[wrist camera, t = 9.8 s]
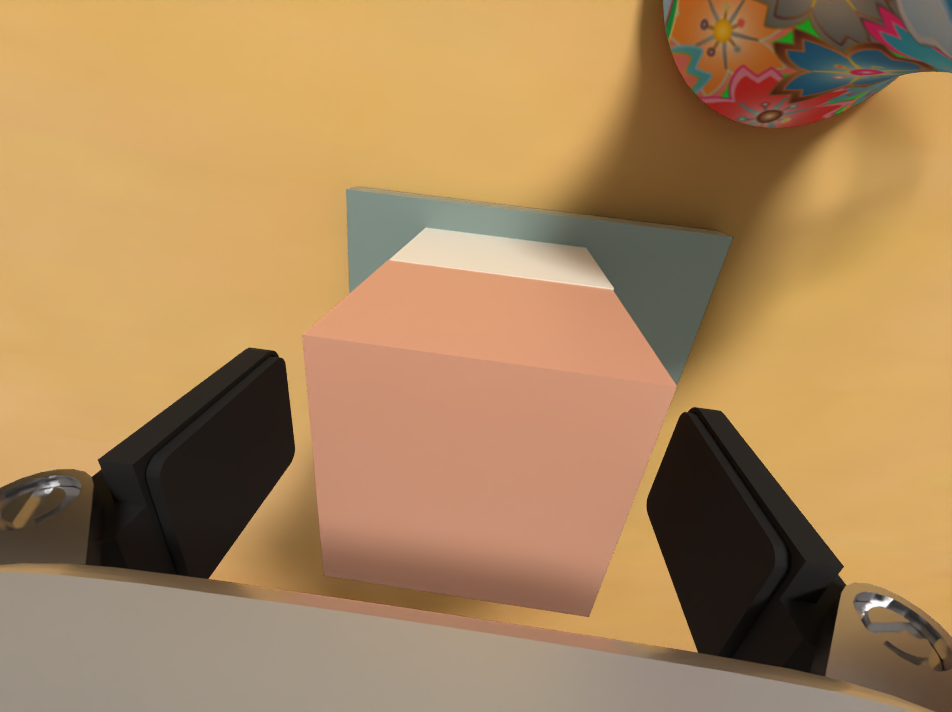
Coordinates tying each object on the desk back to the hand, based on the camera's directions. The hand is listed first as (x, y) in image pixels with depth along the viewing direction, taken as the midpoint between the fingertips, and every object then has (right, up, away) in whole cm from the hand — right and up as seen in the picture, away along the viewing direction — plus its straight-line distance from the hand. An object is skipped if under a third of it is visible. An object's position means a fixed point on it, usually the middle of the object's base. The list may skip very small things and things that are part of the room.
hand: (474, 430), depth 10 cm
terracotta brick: (0, +1, +2) cm, 3 cm away
